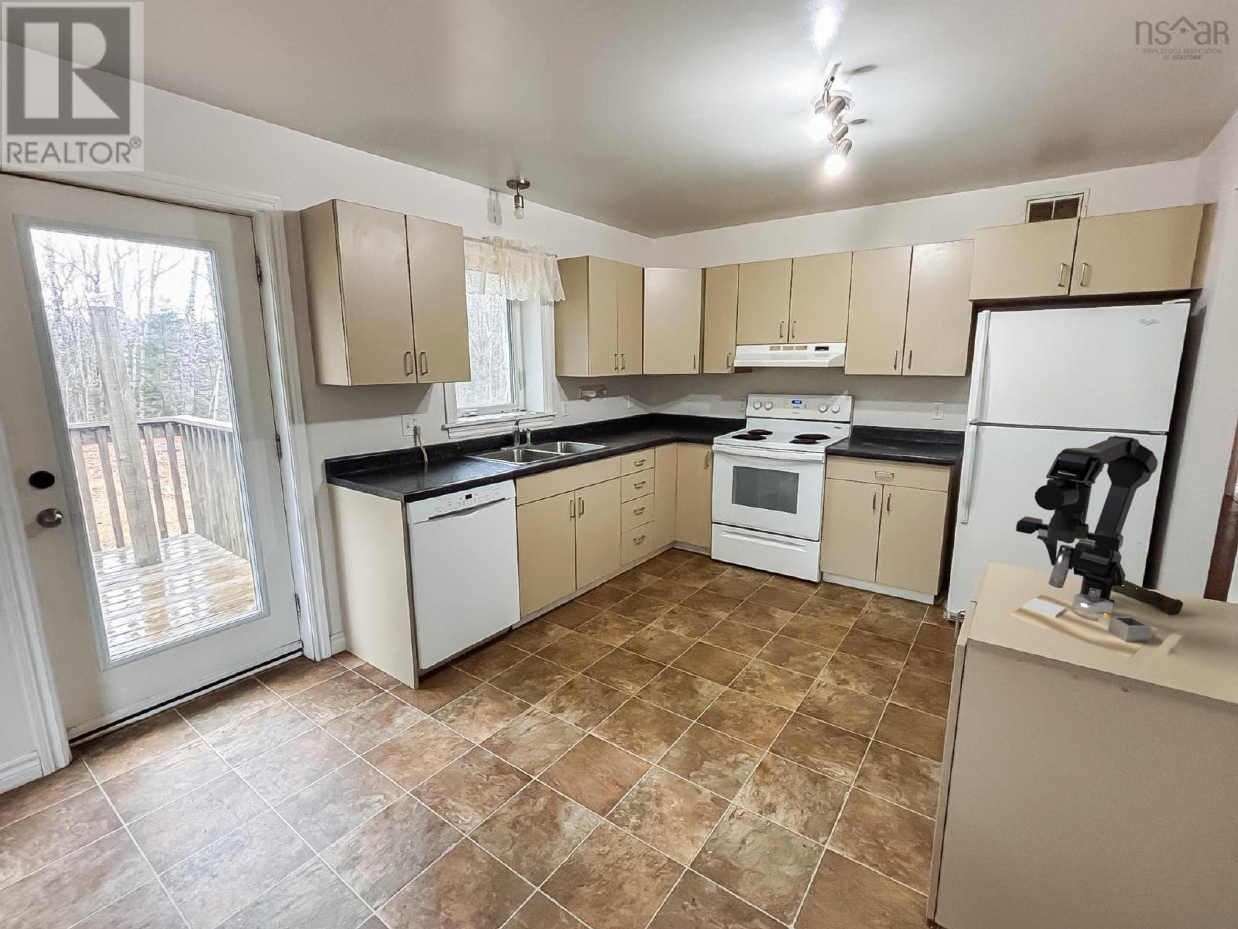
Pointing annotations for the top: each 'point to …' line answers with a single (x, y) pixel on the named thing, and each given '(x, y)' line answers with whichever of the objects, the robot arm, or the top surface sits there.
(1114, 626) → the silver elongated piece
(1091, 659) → the top surface
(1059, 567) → the metal cylinder
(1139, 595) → the hand tool
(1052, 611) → the coaster
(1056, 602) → the board
